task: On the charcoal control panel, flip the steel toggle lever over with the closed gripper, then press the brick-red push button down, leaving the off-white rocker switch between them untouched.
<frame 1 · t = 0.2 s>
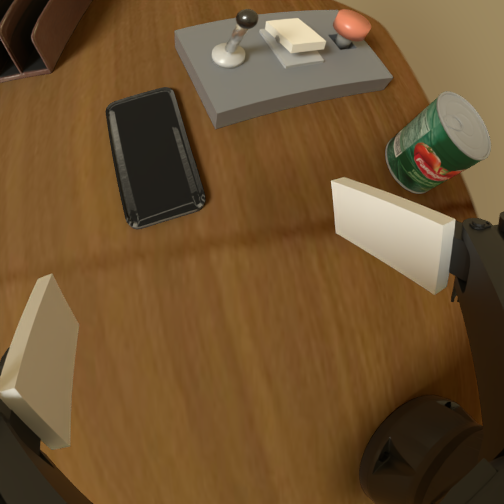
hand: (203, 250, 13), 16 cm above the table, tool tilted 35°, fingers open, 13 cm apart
toggle lever: (242, 26, 24), point 9 cm above the table, hinge at -20.0°
phone: (152, 154, 31), on the table
rocker switch: (294, 35, 30), point 5 cm above the table, hinge at 12.0°
push button: (347, 32, 32), point 5 cm above the table, slide at 0.0 cm
canned tomato: (409, 164, 35), on the table
control panel: (284, 62, 35), on the table
letter holder: (50, 32, 31), on the table
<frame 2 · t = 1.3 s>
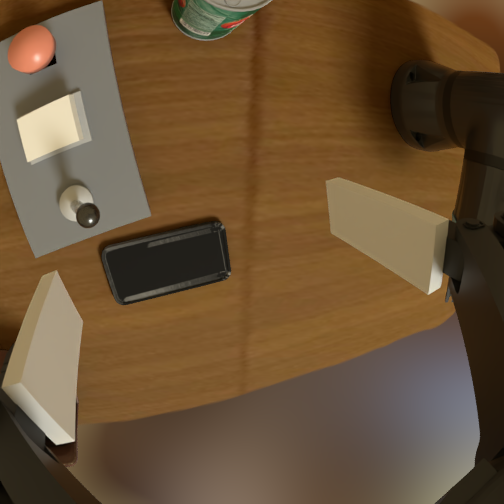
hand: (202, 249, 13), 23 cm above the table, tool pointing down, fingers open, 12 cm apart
toggle lever: (84, 212, 23), point 9 cm above the table, hinge at -20.0°
phone: (166, 260, 38), on the table
rocker switch: (49, 128, 23), point 5 cm above the table, hinge at 12.0°
push button: (36, 52, 19), point 5 cm above the table, slide at 0.0 cm
canned tomato: (205, 11, 27), on the table
control panel: (61, 127, 27), on the table
letter holder: (16, 373, 35), on the table
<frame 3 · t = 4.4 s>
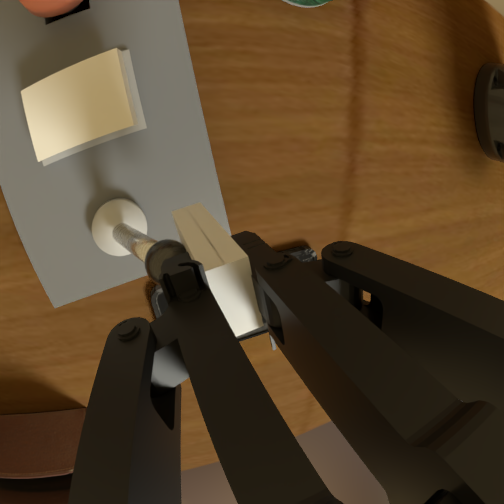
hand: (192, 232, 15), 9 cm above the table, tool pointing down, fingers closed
toggle lever: (153, 254, 14), point 9 cm above the table, hinge at -20.0°, touching gripper
phone: (238, 298, 29), on the table
rocker switch: (77, 105, 14), point 5 cm above the table, hinge at 12.0°
control panel: (90, 108, 18), on the table
letter holder: (33, 435, 26), on the table
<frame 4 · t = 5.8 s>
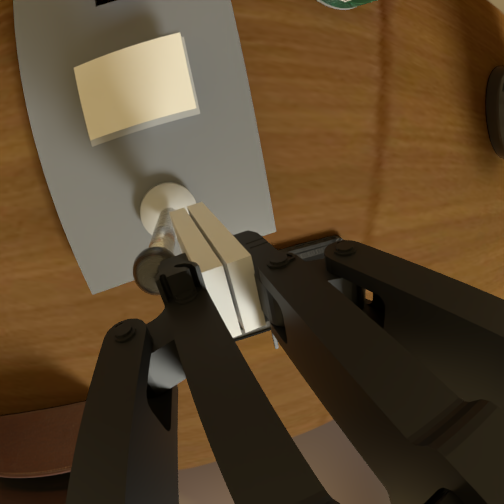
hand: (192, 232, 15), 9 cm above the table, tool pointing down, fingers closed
toggle lever: (160, 254, 14), point 10 cm above the table, hinge at 11.9°, touching gripper
phone: (271, 286, 30), on the table
rocker switch: (134, 85, 15), point 5 cm above the table, hinge at 12.0°
control panel: (136, 93, 19), on the table
letter holder: (53, 433, 27), on the table
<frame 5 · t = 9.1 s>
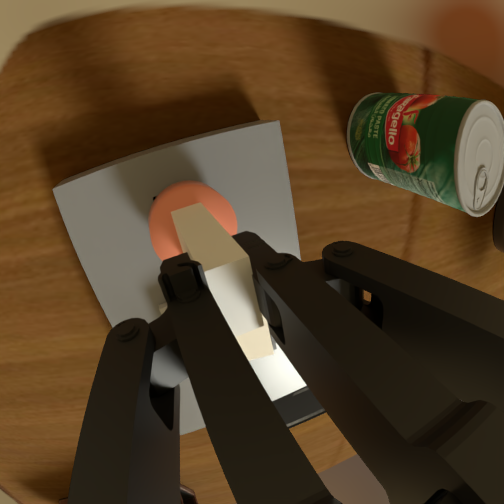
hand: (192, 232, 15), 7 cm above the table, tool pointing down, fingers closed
phone: (302, 396, 36), on the table
rocker switch: (222, 334, 21), point 5 cm above the table, hinge at 12.0°
push button: (186, 217, 18), point 4 cm above the table, slide at 0.9 cm, touching gripper
canned tomato: (379, 135, 25), on the table
control panel: (206, 297, 25), on the table
letter holder: (123, 497, 33), on the table
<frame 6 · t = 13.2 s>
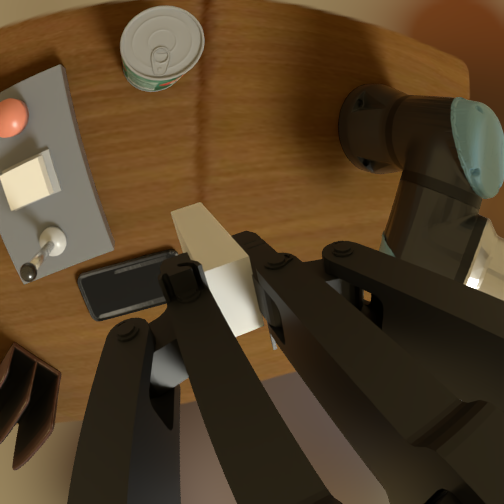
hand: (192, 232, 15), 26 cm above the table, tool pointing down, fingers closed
toggle lever: (33, 265, 28), point 10 cm above the table, hinge at 11.2°
phone: (132, 283, 43), on the table
rocker switch: (26, 183, 28), point 5 cm above the table, hinge at 12.0°
push button: (14, 118, 26), point 3 cm above the table, slide at 1.7 cm
canned tomato: (153, 62, 33), on the table
control panel: (38, 175, 32), on the table
letter holder: (17, 385, 41), on the table
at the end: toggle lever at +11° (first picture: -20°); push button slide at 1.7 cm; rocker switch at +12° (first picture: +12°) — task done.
